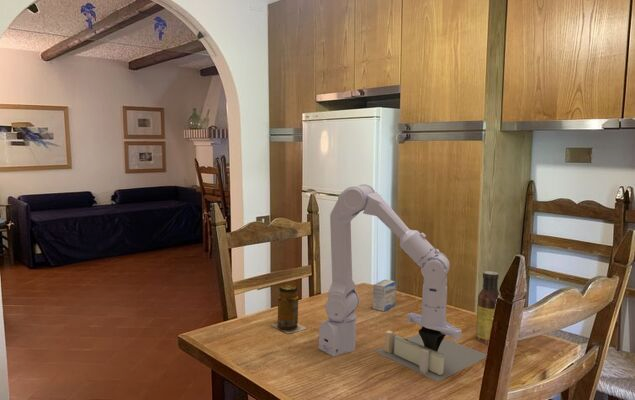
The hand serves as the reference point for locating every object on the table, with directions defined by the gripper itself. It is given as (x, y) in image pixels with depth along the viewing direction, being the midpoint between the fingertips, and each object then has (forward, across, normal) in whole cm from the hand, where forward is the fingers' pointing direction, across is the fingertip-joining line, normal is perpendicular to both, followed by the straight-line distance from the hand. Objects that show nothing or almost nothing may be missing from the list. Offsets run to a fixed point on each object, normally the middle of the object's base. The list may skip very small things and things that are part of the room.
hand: (431, 358), depth 112 cm
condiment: (+3, +42, +12) cm, 44 cm away
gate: (+1, +3, +2) cm, 4 cm away
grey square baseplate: (+3, +4, -6) cm, 7 cm away
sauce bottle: (+3, 0, -26) cm, 26 cm away
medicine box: (+3, +37, -24) cm, 44 cm away
